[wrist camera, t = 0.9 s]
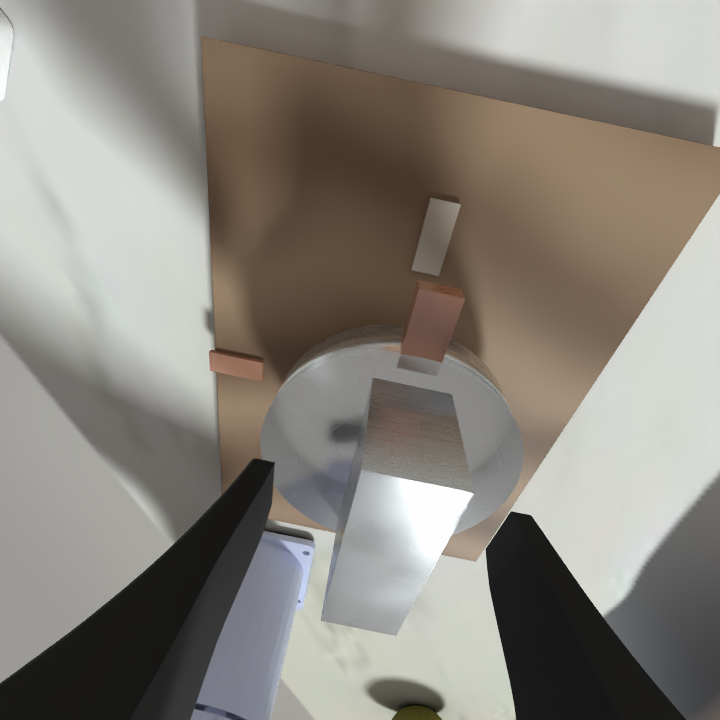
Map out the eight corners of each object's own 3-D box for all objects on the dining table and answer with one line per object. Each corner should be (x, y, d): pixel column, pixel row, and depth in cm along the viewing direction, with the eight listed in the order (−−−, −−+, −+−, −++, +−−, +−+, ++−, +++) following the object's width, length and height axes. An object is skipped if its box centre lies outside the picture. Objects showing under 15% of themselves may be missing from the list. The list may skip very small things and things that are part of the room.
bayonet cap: (460, 517, 16) (486, 668, 11) (272, 479, 16) (218, 613, 11) (579, 302, 10) (732, 421, 6) (289, 241, 10) (195, 308, 6)
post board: (472, 543, 22) (482, 593, 20) (228, 492, 22) (205, 536, 19) (713, 153, 11) (811, 151, 8) (213, 46, 11) (155, 10, 8)
